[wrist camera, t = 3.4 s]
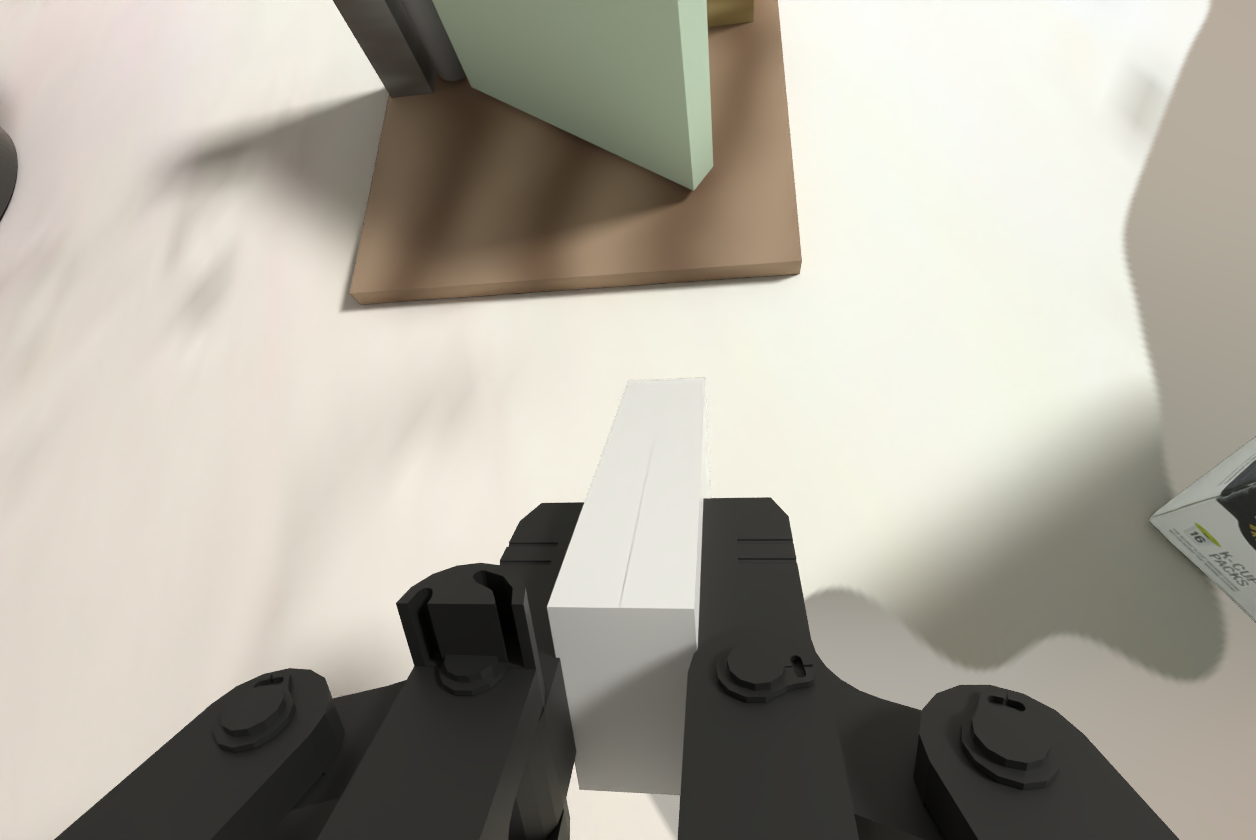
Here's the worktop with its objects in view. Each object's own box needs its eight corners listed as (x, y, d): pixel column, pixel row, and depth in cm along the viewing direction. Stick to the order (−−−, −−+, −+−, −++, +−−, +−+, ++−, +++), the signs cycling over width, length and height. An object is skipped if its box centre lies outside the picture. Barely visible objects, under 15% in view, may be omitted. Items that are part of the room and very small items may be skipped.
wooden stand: (360, 304, 32) (131, 82, 20) (410, 45, 38) (259, -244, 26) (799, 273, 28) (847, -13, 16) (774, -3, 35) (796, -358, 23)
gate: (429, 72, 34) (302, -175, 24) (455, 45, 35) (341, -209, 25) (689, 195, 29) (666, -58, 19) (716, 161, 29) (708, -105, 19)
